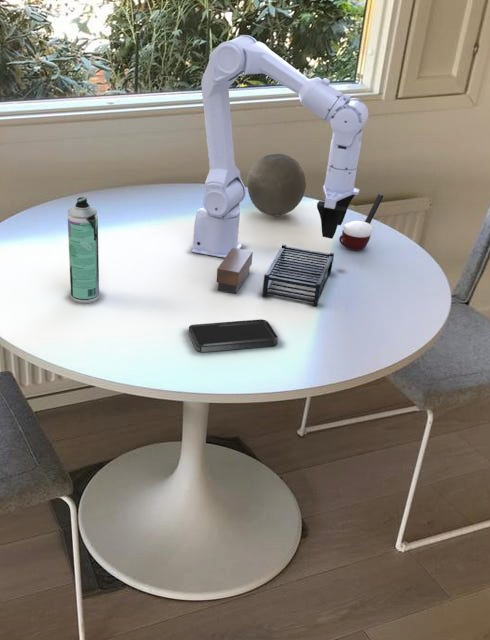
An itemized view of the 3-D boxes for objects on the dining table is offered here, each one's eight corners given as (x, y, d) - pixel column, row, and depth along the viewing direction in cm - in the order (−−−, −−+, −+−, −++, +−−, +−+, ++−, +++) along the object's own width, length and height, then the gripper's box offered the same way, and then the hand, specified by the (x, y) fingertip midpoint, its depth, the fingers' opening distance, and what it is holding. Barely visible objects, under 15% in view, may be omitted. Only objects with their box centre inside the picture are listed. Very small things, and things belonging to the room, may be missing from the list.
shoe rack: (262, 296, 153) (264, 274, 150) (280, 264, 165) (282, 244, 163) (316, 307, 150) (320, 285, 147) (330, 273, 162) (334, 253, 160)
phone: (279, 340, 136) (197, 347, 133) (279, 345, 137) (197, 352, 134) (266, 318, 142) (187, 324, 139) (265, 323, 143) (187, 329, 140)
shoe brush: (215, 291, 154) (217, 268, 151) (230, 269, 163) (232, 247, 160) (236, 295, 153) (238, 272, 150) (250, 272, 161) (252, 251, 159)
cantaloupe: (245, 202, 196) (251, 144, 188) (301, 207, 194) (309, 149, 186) (242, 223, 184) (247, 162, 176) (301, 229, 183) (309, 167, 174)
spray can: (103, 293, 151) (102, 196, 140) (92, 305, 147) (89, 206, 136) (78, 288, 153) (74, 191, 142) (66, 300, 148) (61, 201, 137)
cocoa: (339, 253, 171) (347, 202, 165) (332, 242, 177) (340, 191, 170) (380, 253, 172) (390, 202, 166) (372, 242, 178) (381, 192, 171)
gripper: (355, 179, 143) (343, 247, 150) (369, 158, 154) (358, 221, 161) (318, 173, 145) (308, 240, 152) (335, 152, 156) (325, 215, 164)
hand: (332, 230), depth 157 cm, fingers open, 7 cm apart
